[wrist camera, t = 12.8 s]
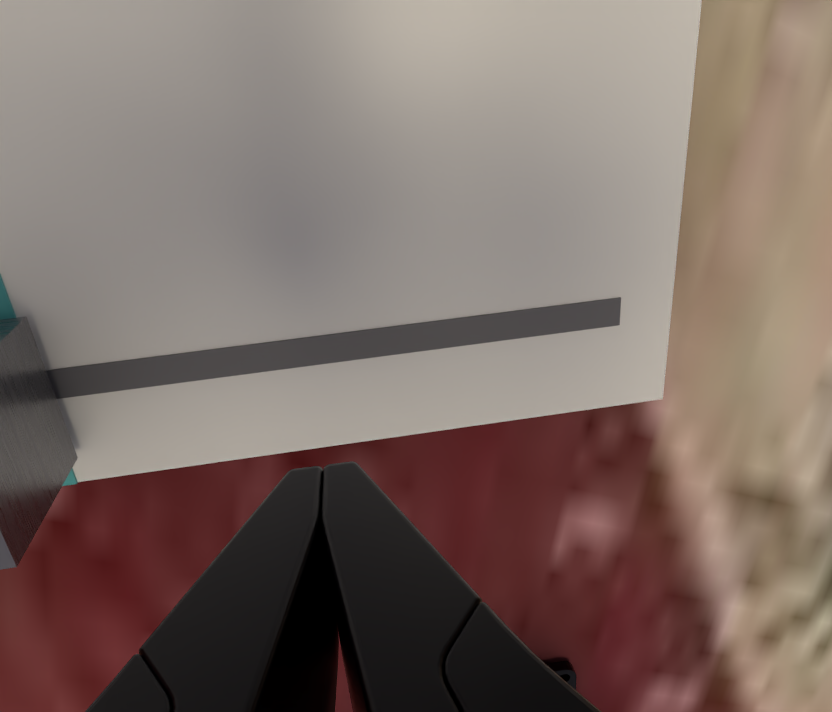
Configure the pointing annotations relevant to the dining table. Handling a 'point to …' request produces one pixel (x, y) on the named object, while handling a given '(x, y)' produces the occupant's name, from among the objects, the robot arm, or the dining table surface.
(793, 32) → the dining table surface
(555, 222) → the slotted white panel
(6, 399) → the fader
